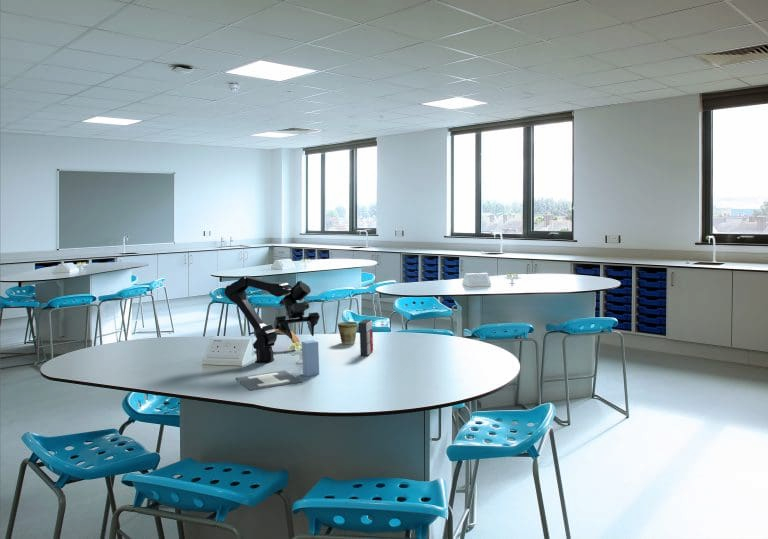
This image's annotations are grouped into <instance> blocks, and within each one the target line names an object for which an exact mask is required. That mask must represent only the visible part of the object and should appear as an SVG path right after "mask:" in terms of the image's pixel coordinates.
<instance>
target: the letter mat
mask: <svg viewBox="0 0 768 539" xmlns="http://www.w3.org/2000/svg"><path fill="white" fill-rule="evenodd" d="M236 378H237V379H238V380H239V381H240V382H239V381H238V380H237V379H236V380H237V381H238V382H239V383H241V384H242V383H243V384H244V385H245V386H246V389H248V390H249V389H250V391H255V389H256V390H261V389H262V390H263V389H267V388H274V387H280V386H285V385H293V384H299V383H302V382H303V380H302V379H299V377H296V376H294V375H293V374H292V373H290V372H288V371H286V370H279V371H273V372H272V371H271V372H265V373H259V374H258V373H257V374H251V375H245V376H244V375H243V376H237V377H236ZM243 384H242V385H243ZM244 385H243V386H244ZM245 386H244V387H245Z"/></svg>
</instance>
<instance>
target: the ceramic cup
mask: <svg viewBox="0 0 768 539" xmlns="http://www.w3.org/2000/svg"><path fill="white" fill-rule="evenodd" d="M358 323H359V322H357V321H342V322H338V323H337V327H338V333H339V336H340V337H339V338H340V340H341V341H340V342H341V344H342V345H354V344H356V337H357V336H356V335H357V331H358Z"/></svg>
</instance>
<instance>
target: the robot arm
mask: <svg viewBox="0 0 768 539" xmlns="http://www.w3.org/2000/svg"><path fill="white" fill-rule="evenodd" d="M249 287H250V288H254V289H257V290H261V291H262V290H263V291H265V292H268V293H269V294H270V295H272V296H274V297H276V298H279V297H282V298H280V301H279V303H278V305H281V306H283V307H284V308H285V315H279V316H275V318H274V321H273V325H271V323H269V324H266V323H264V321H263V320H262V318H261V317H260V315H259V314H258V312H256V310H255V309H254V307H253V306H252V304H251V303H250V302H249V300H248V298H247V292H246V290H247V289H248V288H249ZM311 292H312V290H311V287H310V286H309V285H307V283H305V282H303V281H302V280H298V281H297V282H296V284H294V285H290V284H289V283H288V282H286V281H269V280H265V279H262V278H258V277H253V276H251V275H245V276H241V277H240V278H239V279H237V280H236V281H234V282H232V283H231V284H228V285H226V287H225V288H224V296H225V297H226V298H227V299H228V300H229V301H230V302H232V303H234V304H235V305H237V306H238V308H239V310H240V311H241V312H242V314H243V315H244V317H245V318H246V320H247V321H248V322H249V324H250V325H251V327H252V328H253V330H254V334H255V338H256V340H254V342H253V343H252V347H253V349H254V350H255V352H256V360H255V361H254V363H260V362H262V363H263V364H264V363H265V364H268V363H270V362H273V361H274V360H275V358H274V350H273V347H274V346H275V344H276V342H277V339H278V338H277V337H278V335H277V332H276V331H275V330H274V329H278V330H279V331H282V332H283V333H285V334H286V335H285V334H284V335H285V336H287V337H288V338H289V337H290V338H291V339H292V334H291V329H290V326H289V324H298V323H299V324H301V323H306V324H307V328H308V330H309V333H310V335H311V337H314V336H315V335H314V334H315V326H316V325H317V324H319V320H320V317H321V316H320V314H319V312H309V313H308V314H307V316H304V315H305V311H306V310H309V309H310V304H309V302H308V300H305V301H303V300H304V299H305V298H306V297H308V295H309V294H310V293H311ZM298 301H299V302H298ZM301 301H302V302H301ZM286 316H287V317H288V318H287V317H286ZM283 333H282V334H283ZM290 338H289V339H290ZM291 339H290V340H291Z"/></svg>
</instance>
